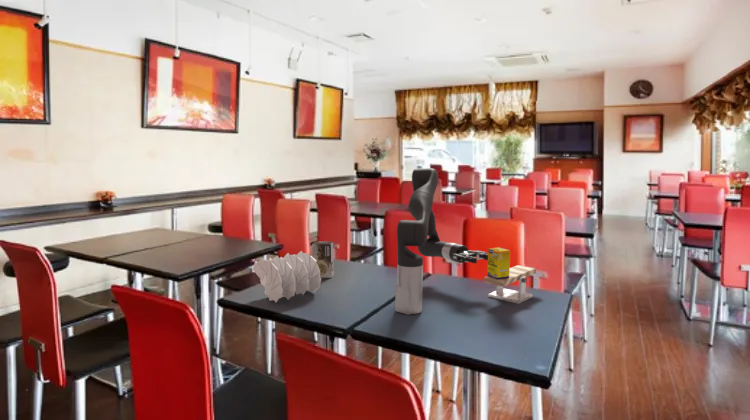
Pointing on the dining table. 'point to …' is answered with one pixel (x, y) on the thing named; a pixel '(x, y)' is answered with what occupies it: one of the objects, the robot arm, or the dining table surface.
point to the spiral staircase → (288, 275)
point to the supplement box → (498, 263)
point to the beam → (511, 275)
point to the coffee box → (324, 257)
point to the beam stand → (512, 293)
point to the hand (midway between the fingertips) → (483, 259)
